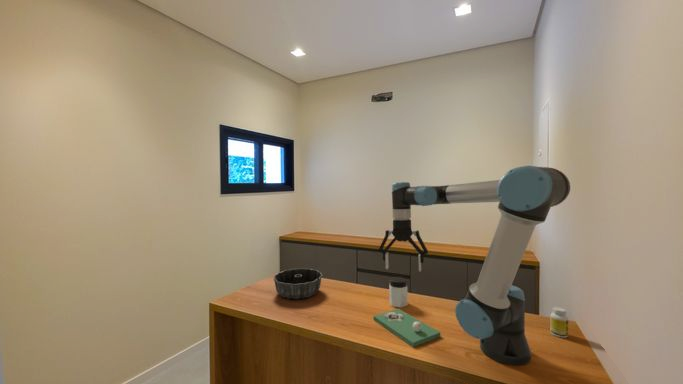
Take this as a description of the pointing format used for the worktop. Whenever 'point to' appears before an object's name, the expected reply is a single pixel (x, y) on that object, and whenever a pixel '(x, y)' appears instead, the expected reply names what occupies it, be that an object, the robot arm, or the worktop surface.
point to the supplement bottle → (559, 322)
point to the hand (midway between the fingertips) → (403, 269)
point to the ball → (417, 326)
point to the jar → (398, 292)
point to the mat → (406, 327)
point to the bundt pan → (298, 283)
